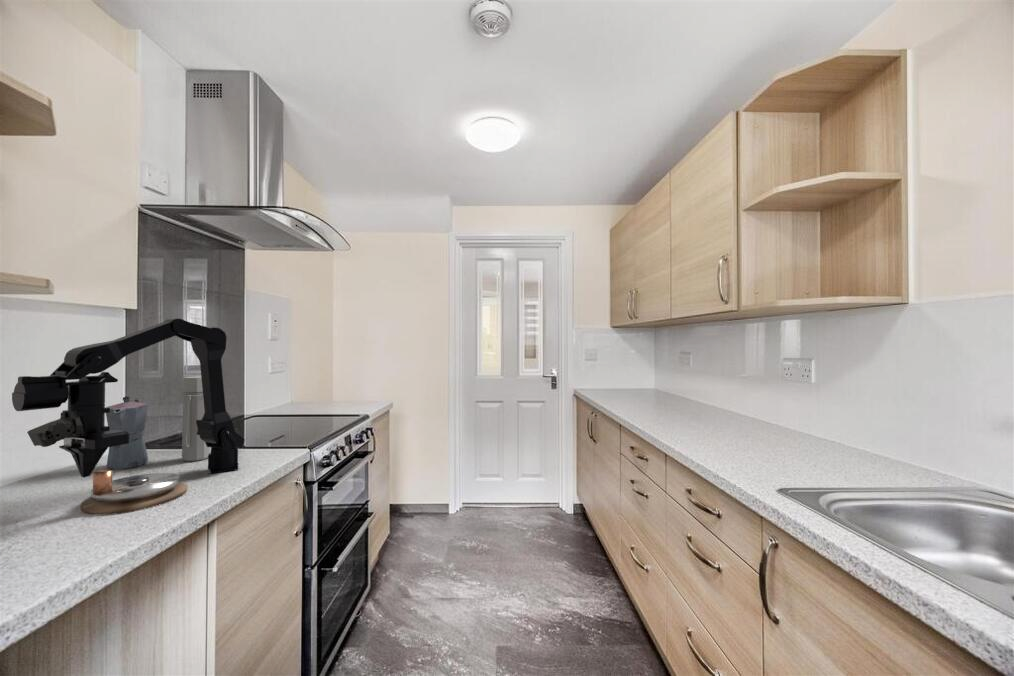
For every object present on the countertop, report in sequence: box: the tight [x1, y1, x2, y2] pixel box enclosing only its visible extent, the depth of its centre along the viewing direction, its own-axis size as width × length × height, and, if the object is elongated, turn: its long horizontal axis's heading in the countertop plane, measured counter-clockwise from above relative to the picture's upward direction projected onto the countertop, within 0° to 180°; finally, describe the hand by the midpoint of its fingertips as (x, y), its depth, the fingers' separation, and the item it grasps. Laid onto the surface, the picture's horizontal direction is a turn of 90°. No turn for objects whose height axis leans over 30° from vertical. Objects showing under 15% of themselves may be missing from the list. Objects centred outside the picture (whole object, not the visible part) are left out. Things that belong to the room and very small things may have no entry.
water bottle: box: [180, 375, 211, 462], centre depth 127 cm, size 9×8×25 cm
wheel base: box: [80, 481, 188, 515], centre depth 95 cm, size 18×18×1 cm
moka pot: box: [105, 396, 149, 470], centre depth 121 cm, size 10×15×20 cm, turn 27°
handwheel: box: [90, 469, 180, 502], centre depth 95 cm, size 16×15×7 cm
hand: (85, 476), depth 91 cm, fingers closed
